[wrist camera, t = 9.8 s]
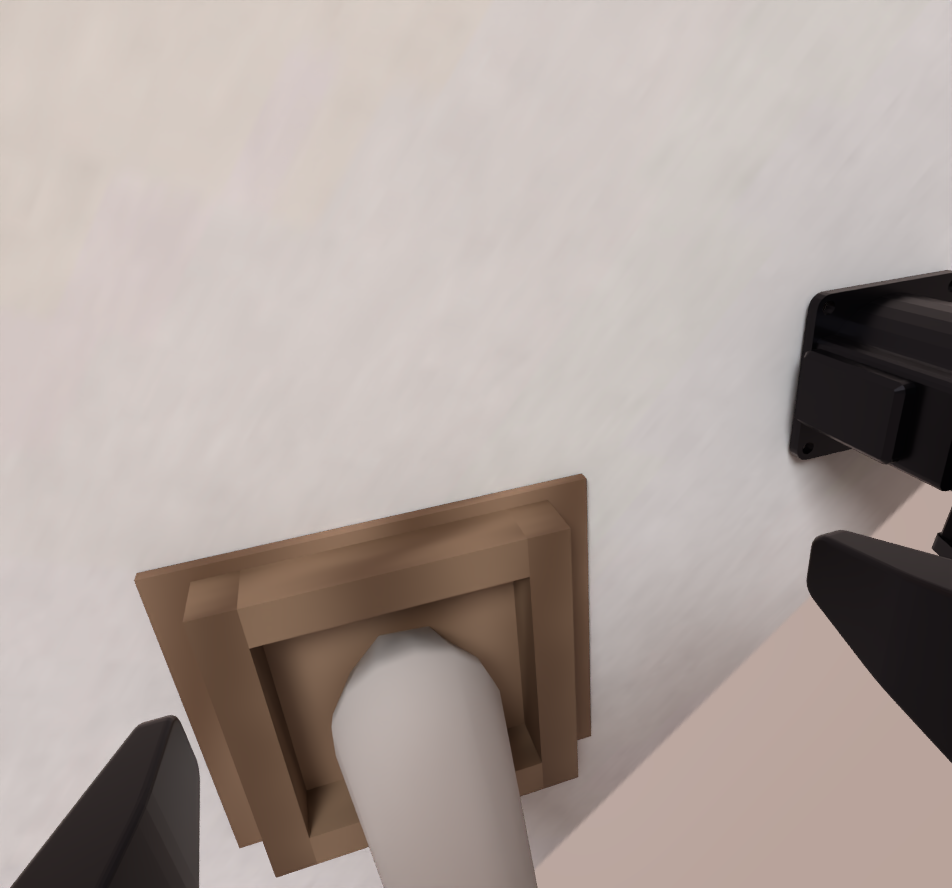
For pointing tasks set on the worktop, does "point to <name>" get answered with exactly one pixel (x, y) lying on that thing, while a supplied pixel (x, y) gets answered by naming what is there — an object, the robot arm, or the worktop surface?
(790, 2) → the worktop surface
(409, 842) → the salt shaker
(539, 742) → the brown flat rectangular frame
